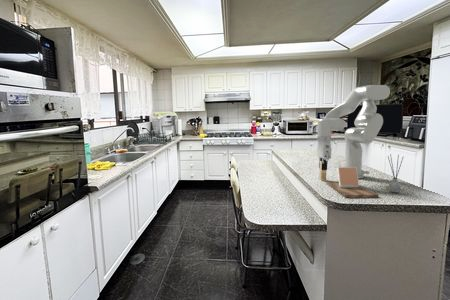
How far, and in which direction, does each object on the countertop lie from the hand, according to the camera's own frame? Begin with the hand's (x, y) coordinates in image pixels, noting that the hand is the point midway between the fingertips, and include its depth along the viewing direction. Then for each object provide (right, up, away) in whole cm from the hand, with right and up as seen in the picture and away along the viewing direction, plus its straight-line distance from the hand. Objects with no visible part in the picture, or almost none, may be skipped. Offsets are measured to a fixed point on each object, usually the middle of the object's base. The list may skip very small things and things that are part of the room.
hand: (322, 169), depth 142 cm
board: (+7, -10, -17) cm, 21 cm away
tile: (+7, -3, -16) cm, 17 cm away
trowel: (0, -8, +1) cm, 8 cm away
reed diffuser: (+27, -11, -21) cm, 36 cm away
